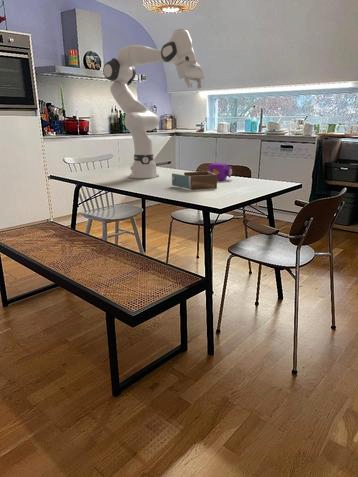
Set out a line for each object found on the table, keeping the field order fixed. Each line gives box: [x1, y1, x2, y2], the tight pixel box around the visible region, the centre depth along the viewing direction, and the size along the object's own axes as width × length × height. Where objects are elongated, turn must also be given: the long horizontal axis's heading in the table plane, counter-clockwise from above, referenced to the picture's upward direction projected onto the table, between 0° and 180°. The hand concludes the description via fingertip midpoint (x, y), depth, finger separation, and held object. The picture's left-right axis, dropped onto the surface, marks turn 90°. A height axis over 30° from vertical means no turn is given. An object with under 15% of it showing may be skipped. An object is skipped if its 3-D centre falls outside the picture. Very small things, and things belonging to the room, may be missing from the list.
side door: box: [171, 172, 192, 190], centre depth 198 cm, size 14×2×7 cm, turn 41°
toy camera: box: [208, 161, 233, 181], centre depth 223 cm, size 11×14×10 cm
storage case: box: [183, 170, 218, 191], centre depth 202 cm, size 14×14×7 cm
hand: (195, 87), depth 199 cm, fingers open, 8 cm apart
